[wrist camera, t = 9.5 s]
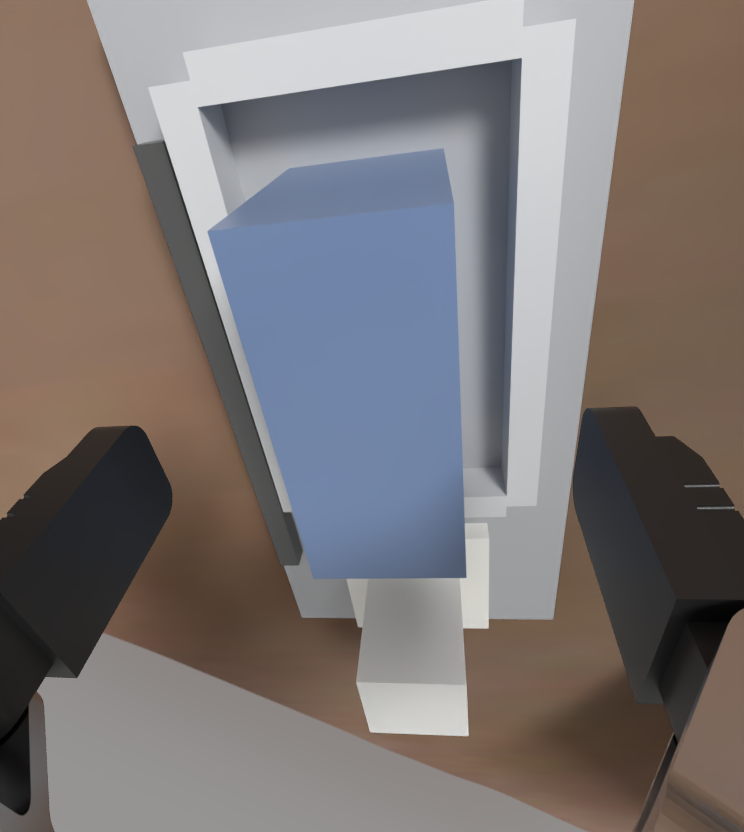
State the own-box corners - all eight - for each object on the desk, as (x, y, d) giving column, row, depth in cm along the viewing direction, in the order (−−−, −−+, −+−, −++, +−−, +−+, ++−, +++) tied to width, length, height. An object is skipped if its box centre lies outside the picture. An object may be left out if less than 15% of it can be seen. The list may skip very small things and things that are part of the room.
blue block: (289, 168, 13) (207, 231, 8) (443, 148, 13) (454, 203, 8) (343, 439, 18) (313, 578, 13) (455, 434, 18) (466, 578, 13)
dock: (112, 1, 12) (-157, -52, 7) (628, -98, 11) (861, -284, 5) (306, 596, 26) (272, 747, 20) (547, 596, 24) (585, 762, 18)
